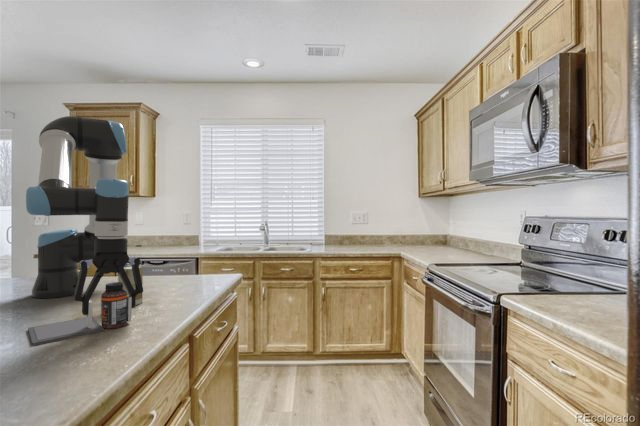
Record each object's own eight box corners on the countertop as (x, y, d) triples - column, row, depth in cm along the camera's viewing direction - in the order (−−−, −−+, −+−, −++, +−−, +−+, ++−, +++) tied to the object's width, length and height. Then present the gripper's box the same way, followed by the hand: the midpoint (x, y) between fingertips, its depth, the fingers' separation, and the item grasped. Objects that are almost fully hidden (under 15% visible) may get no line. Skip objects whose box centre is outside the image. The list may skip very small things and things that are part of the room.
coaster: (28, 330, 89) (28, 327, 89) (92, 318, 99) (92, 316, 99) (32, 345, 79) (32, 342, 79) (103, 331, 89) (103, 328, 89)
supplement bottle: (97, 326, 92) (96, 283, 92) (120, 320, 97) (120, 280, 97) (107, 331, 89) (107, 286, 89) (131, 324, 94) (131, 282, 94)
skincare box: (129, 308, 109) (129, 269, 109) (117, 307, 110) (117, 268, 110) (143, 302, 116) (143, 266, 116) (132, 302, 117) (132, 265, 117)
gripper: (64, 239, 83) (61, 335, 82) (158, 237, 97) (156, 319, 97) (60, 237, 88) (57, 328, 88) (149, 235, 102) (147, 313, 102)
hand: (109, 323), depth 92 cm, fingers open, 8 cm apart
